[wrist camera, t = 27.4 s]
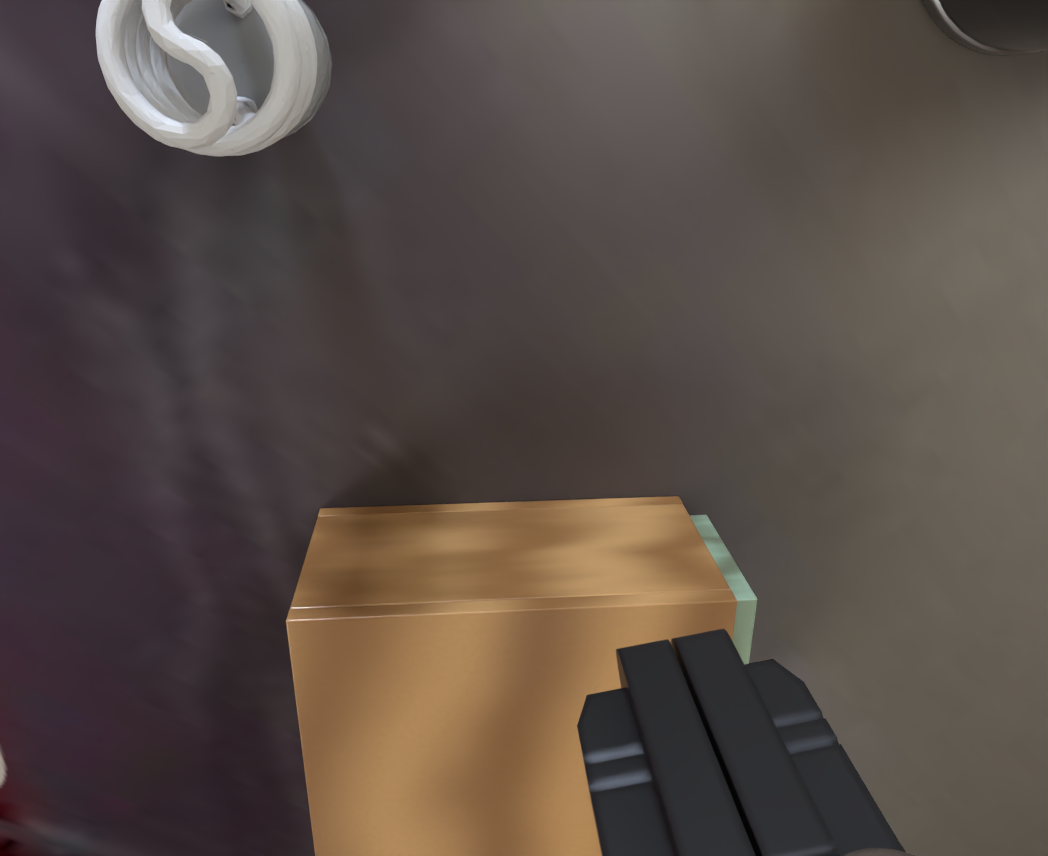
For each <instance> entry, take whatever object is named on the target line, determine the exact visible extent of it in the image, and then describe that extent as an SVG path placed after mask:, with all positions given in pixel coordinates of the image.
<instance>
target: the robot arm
mask: <svg viewBox="0 0 1048 856" xmlns="http://www.w3.org/2000/svg"><path fill="white" fill-rule="evenodd" d="M922 1H923V3H924V6H925V7H926V9H927V11H928V13H929V14H930V16H931V17H932V19H933V20H934V21H935V23H936V24H937V25H938V26H939V27H940V28H941V30H942V31H943V32H944V33H946V34H947V35H948V36H949V37H950V38H951V39H953V40H955V41H956V42H958V43H959V44H961V45H963V46H965V47H967V48H969V49H972V50H975V51H977V52H981V53H986V54H993V55H1017V54H1028V53H1035V52H1040V51H1044V50H1048V0H922ZM616 657H617V664H618V670H619V677H620V683H621V688H620V689H615V690H610V691H605V692H600V693H594V694H589V695H587V696H586V699H585V702H584V706H583V709H582V712H581V715H580V718H579V721H578V724H577V728H578V734H579V739H580V744H581V750H582V755H583V761H584V766H585V771H586V777H587V782H588V787H589V793H590V798H591V804H592V809H593V814H594V819H595V824H596V829H597V834H598V839H599V844H600V849H601V854H602V856H914V855H912V854H909V853H907V852H906V851H905V850H904V848H903V847H902V846H901V844H900V843H899V841H898V839H897V838H896V836H895V834H894V833H893V831H892V829H891V828H890V826H889V824H888V823H887V821H886V819H885V818H884V816H883V814H882V813H881V811H880V809H879V808H878V806H877V804H876V803H875V801H874V799H873V797H872V796H871V794H870V792H869V791H868V789H867V787H866V786H865V784H864V782H863V781H862V779H861V777H860V776H859V774H858V772H857V771H856V769H855V767H854V766H853V764H852V762H851V761H850V759H849V757H848V756H847V754H846V752H845V750H844V749H843V747H842V745H841V744H840V745H839V744H838V741H837V737H836V735H835V734H834V732H833V730H832V729H831V727H830V725H829V724H828V722H827V720H826V719H824V718H823V716H822V712H821V710H820V709H819V707H818V705H817V704H816V702H815V700H814V698H813V697H812V695H811V693H810V692H809V690H808V688H807V687H806V685H805V683H804V682H803V681H802V680H800V679H799V678H798V677H796V676H795V675H794V674H792V673H791V672H790V671H788V670H787V669H786V668H784V667H783V666H782V665H780V664H779V663H778V662H776V661H775V660H774V659H771V660H765V661H760V662H755V663H750V664H745V665H744V663H743V661H742V659H741V657H740V655H739V653H738V651H737V649H736V647H735V645H734V643H733V641H732V639H731V638H730V636H729V634H728V632H727V631H726V630H725V629H718V630H713V631H708V632H703V633H698V634H692V635H687V636H682V637H677V638H672V639H671V643H670V641H669V640H668V639H665V640H660V641H655V642H650V643H645V644H640V645H634V646H629V647H624V648H619V649H616Z"/></svg>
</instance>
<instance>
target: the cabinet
mask: <svg viewBox="0 0 1048 856" xmlns="http://www.w3.org/2000/svg"><path fill="white" fill-rule="evenodd" d="M736 608H737V599H736V597H735V596H734V594H733V592H732V591H731V589H730V587H729V585H728V584H727V582H726V580H725V578H724V576H723V575H722V573H721V571H720V569H719V568H718V566H717V564H716V562H715V560H714V559H713V557H712V555H711V553H710V551H709V550H708V548H707V546H706V544H705V543H704V541H703V539H702V537H701V535H700V534H699V532H698V530H697V528H696V527H695V525H694V523H693V521H692V519H691V518H690V516H689V514H688V512H687V510H686V509H685V507H684V505H683V503H682V501H681V499H680V497H679V496H670V497H641V498H611V499H582V500H553V501H523V502H494V503H465V504H435V505H406V506H376V507H347V508H321V509H320V510H319V514H318V518H317V521H316V525H315V528H314V531H313V534H312V538H311V541H310V544H309V547H308V551H307V554H306V557H305V561H304V564H303V567H302V570H301V574H300V577H299V580H298V584H297V587H296V590H295V593H294V597H293V600H292V603H291V607H290V610H289V613H288V616H287V619H286V626H287V634H288V642H289V650H290V658H291V666H292V674H293V682H294V690H295V698H296V706H297V714H298V722H299V730H300V738H301V746H302V754H303V762H304V770H305V778H306V786H307V794H308V802H309V810H310V818H311V826H312V834H313V842H314V850H315V856H602V854H601V849H600V844H599V839H598V834H597V829H596V824H595V819H594V814H593V809H592V804H591V798H590V793H589V787H588V782H587V777H586V771H585V766H584V761H583V755H582V750H581V744H580V739H579V734H578V728H577V724H578V721H579V718H580V715H581V712H582V709H583V706H584V702H585V699H586V696H587V695H589V694H594V693H600V692H605V691H610V690H615V689H620V688H621V683H620V677H619V670H618V664H617V657H616V649H619V648H624V647H629V646H634V645H640V644H645V643H650V642H655V641H660V640H665V639H668V640H669V641H670V643H671V639H672V638H677V637H682V636H687V635H692V634H698V633H703V632H708V631H713V630H718V629H725V630H726V631H727V632H728V634H729V636H730V638H731V639H732V640H733V632H734V624H735V616H736Z"/></svg>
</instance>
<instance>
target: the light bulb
mask: <svg viewBox="0 0 1048 856" xmlns="http://www.w3.org/2000/svg"><path fill="white" fill-rule="evenodd" d="M96 43H97V53H98V60H99V63H100V66H101V69H102V72H103V75H104V78H105V81H106V84H107V87H108V88H109V90H110V92H111V93H112V95H113V96H114V98H115V100H116V101H117V103H118V104H119V106H120V108H121V109H122V110H123V111H124V112H125V113H126V115H127V116H128V117H129V118H130V119H131V120H132V121H133V122H134V124H135V125H137V126H138V127H139V128H141V129H142V130H143V131H145V132H146V133H147V134H149V135H150V136H151V137H153V138H154V139H155V140H157V141H160V142H162V143H164V144H166V145H168V146H171V147H177V148H181V149H184V150H188V151H191V152H194V153H197V154H201V155H209V156H240V155H245V154H249V153H252V152H256V151H259V150H262V149H264V148H266V147H268V146H270V145H272V144H273V143H275V142H277V141H278V140H280V139H281V138H284V137H286V136H289V135H291V134H293V133H295V132H296V131H297V130H299V129H300V128H301V127H303V126H304V125H305V124H306V123H308V122H309V121H310V120H311V119H312V118H313V116H314V115H315V114H316V112H317V111H318V109H319V108H320V106H321V105H322V103H323V101H324V99H325V97H326V95H327V92H328V90H329V88H330V79H331V70H332V60H331V55H330V50H329V45H328V40H327V36H326V35H325V33H324V31H323V29H322V27H321V25H320V23H319V21H318V19H317V18H316V16H315V14H314V12H313V11H312V10H311V9H310V8H309V7H308V6H307V5H306V3H305V2H304V1H303V0H102V1H101V4H100V6H99V9H98V16H97V22H96Z"/></svg>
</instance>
